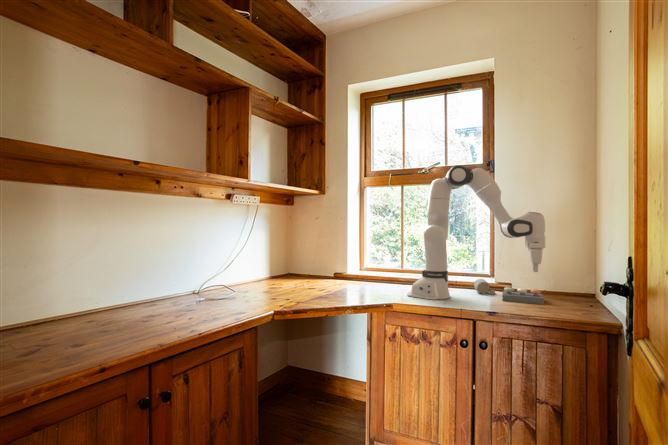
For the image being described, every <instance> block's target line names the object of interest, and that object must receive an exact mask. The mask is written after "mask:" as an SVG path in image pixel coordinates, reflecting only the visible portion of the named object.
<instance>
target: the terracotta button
mask: <svg viewBox="0 0 668 445" xmlns="http://www.w3.org/2000/svg"><path fill="white" fill-rule="evenodd" d="M541 291H542V290H541V289H538V288H537V289H535V288H532V289H530V293H533V294H534V296H538V294H542V292H541Z"/></svg>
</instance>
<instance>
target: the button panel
mask: <svg viewBox="0 0 668 445" xmlns="http://www.w3.org/2000/svg"><path fill="white" fill-rule="evenodd" d="M501 301H502V302H509V303H523V304H524V303H525V304H531V305H532V304H534V305H544V304H545V298H544V296H543V294H542V293H541V294H538V296H534V294H533V293H531V292H527V293H524V295H520V293H519V292H517V291H514V292H511V294H507V292H506V291H504V290H502V300H501Z"/></svg>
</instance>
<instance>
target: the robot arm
mask: <svg viewBox="0 0 668 445" xmlns="http://www.w3.org/2000/svg"><path fill="white" fill-rule="evenodd" d="M464 186H469V187H470V188H471V189H472V190H473V192H474V193H475V195H476V196H477V197H478V198H479V200H481V202H483V204H484V205H485V206H487V208H488V209H489V210H490V211H491V213H492V214H493V216H494V217H495V218H496V220H497V222H498V224H499V227H500V232H501V233H502V234H503V236H504V237H507V238H510V239H513V238H515V239H516V238H522V237H524V246H525V248H527V251H529V259H530V262H531V263H532V271H533V272H534V273H539V265H541V263H542V259H543V250H544V249H546V235H545V232H546V223H545V222H546V220H545V216H544V215H543V214H542V213H540V212H537V211H536V212H535V211H533V212H532V211H528V212H526V213H524V214H523V215H521V216H518V217H516V218H513V217H512V216H511V215H510V214H509V212H508V211H507V209H506V208H505V207H504V205H503V203H502V200H501V199H502V198H501V197H502V191H501V189H500V187H499V185H498V183H497V182H496V181H495V179H494V178H493V177H492V176H491V174H489V172H487V171H486V170H485V169H484V168H482V167H476V168H473V169H470V168H468V167H465V166H464V165H454V166H452V167H451V168H450V169H449V170H448V171H447V173H446V175H445V177H443V178H436V179H434V180H432V182H431V184H430V188H429V192H428V193H429V194H428V198H427V200H428V201H427V203H428V204H427V227H426V228H425V229H424V232H423V243H424V244H423V245H424V252H425V269H423V270H422V271H421V277H420V278H419V279H417V280H416V281H414V282H413V284H412V286H411V290H410V291H408V292H407V294H406V295H407V297H410V298H412V297H413V298H418V299H419V298H420V299H427V300H444V299H445V300H446V299H450V298H451V295H450V291H449V286H448V285H449V283H448V281H449V271H448V254H447V242H446V241H447V239H448V236H449V215H450V214H449V212H450V202H451V201H450V200H451V192H452V191H453V190H456V189H459V188H462V187H464Z"/></svg>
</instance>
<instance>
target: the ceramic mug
mask: <svg viewBox="0 0 668 445" xmlns="http://www.w3.org/2000/svg"><path fill="white" fill-rule="evenodd" d="M473 283H474V284H473V288H474V289H475V291H477V292H478V293H479V294H481V295H486V294H488V293H490V294H493V295H495V293H496V290H494V289H492V288H491V285H490V284H489V282H487V281H486V280H485V279H483V278H477V279H476V280H474V282H473Z"/></svg>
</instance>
